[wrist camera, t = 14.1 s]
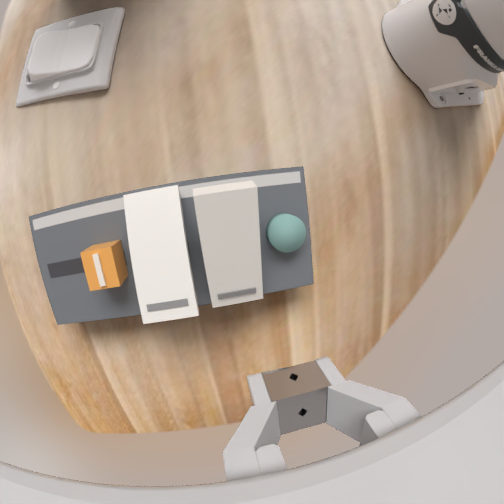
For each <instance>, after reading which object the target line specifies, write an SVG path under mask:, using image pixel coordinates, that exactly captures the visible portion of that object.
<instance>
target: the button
mask: <svg viewBox="0 0 504 504" xmlns="http://www.w3.org/2000/svg"><path fill="white" fill-rule="evenodd" d="M266 237H267V240H268V241H269V243H270V244H271V245H272V246H273V247H275V248H276V249H277V250H279V251H281V252H286V253H288V252H293V251H295V250H297V249H298V248H300V247H301V245H302V244H303V243H304V241H305V237H306V228H305V225H304V223H303V222H302V220H301V219H299V218H298V217H296V216H294V215H291V214H287V213H281V214H277V215H275V216H274V217H272V218H271V219H270V221H269V222H268V224H267V227H266Z"/></svg>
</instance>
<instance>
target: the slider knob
mask: <svg viewBox="0 0 504 504" xmlns="http://www.w3.org/2000/svg"><path fill="white" fill-rule="evenodd" d="M80 254H81V259H82V263H83V267H84V271H85V275H86V278H87V282H88V286H89V289H90V291H94V290H100V289H107V288H113V287H119V286H121V285H122V283H123V282H124V281H125V279H126V278H127V276H128V271H127V267H126V262H125V258H124V253H123V249H122V244H121V240H116V241H111V242H106V243H101V244H96V245H92V246H90V247H89V248H87V249H85V250H84V251H82V252H81V253H80Z"/></svg>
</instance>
